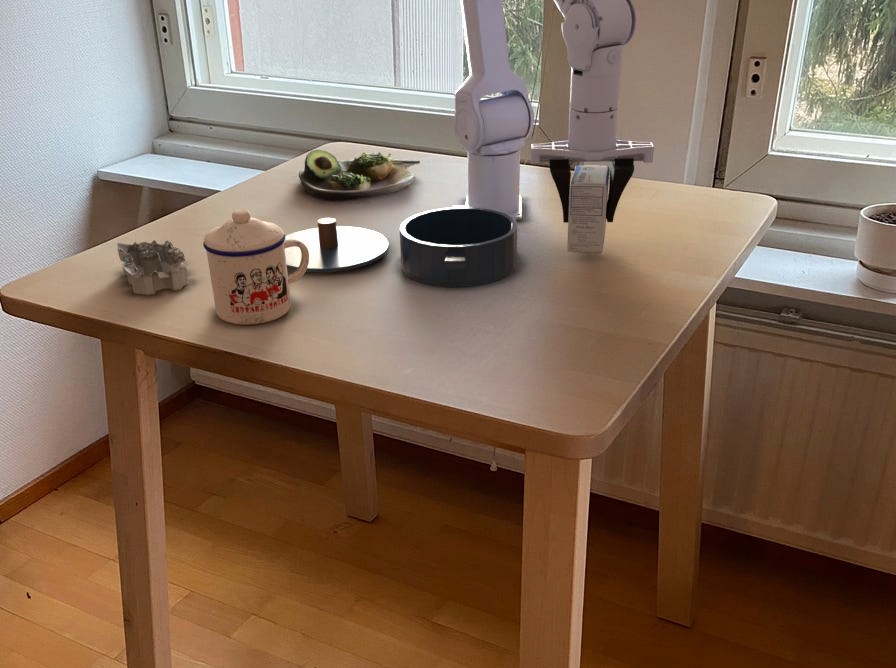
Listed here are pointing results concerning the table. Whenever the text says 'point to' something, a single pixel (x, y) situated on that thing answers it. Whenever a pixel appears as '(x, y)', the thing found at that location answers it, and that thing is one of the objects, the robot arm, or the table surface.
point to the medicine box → (588, 209)
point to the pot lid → (336, 247)
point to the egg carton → (153, 266)
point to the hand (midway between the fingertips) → (587, 219)
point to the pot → (458, 246)
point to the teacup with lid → (251, 269)
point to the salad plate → (354, 176)
